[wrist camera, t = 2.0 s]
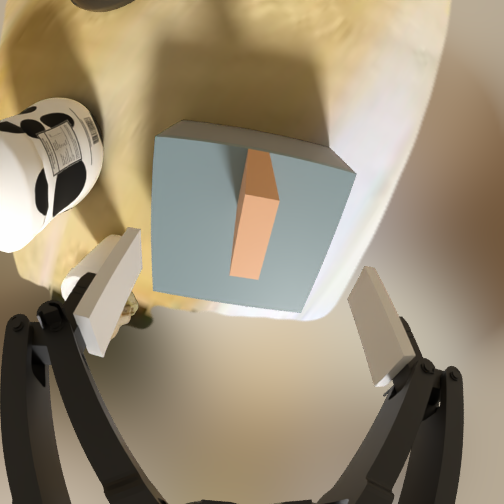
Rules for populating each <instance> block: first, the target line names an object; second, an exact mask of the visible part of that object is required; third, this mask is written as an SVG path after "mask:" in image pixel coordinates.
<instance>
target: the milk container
mask: <svg viewBox="0 0 504 504" xmlns="http://www.w3.org/2000/svg"><path fill="white" fill-rule="evenodd" d="M103 152H104V149H103V141H102V135H101V131H100V128H99V126H98V124H97V122H96V120H95V118H94V116H93V115H92V114H91V113H90V112H89V110H88V109H87V108H86V107H84V106H83V105H82V104H81V103H79V102H77V101H75V100H72V99H68V98H49V99H44V100H41V101H39V102H36V103H34V104H33V105H31V106H30V107H28V108H27V109H25V110H24V111H23V112H21V113H20V114H18V115H15V116H12V117H9V118H5V119H3V120H0V251H4V252H7V253H10V252H14V251H17V250H20V249H21V248H23V247H24V246H25V245H26V244H28V243H29V242H30V241H31V240H32V239H33V238H34V236H35V235H36V234H37V233H39V232H40V231H41V230H42V229H43V228H44V227H45V226H46V225H47V224H48V223H49V222H50V221H51V220H52V219H53V218H54V217H55V216H56V215H58V214H60V213H63V212H65V211H67V210H69V209H71V208H73V207H74V206H76V205H77V204H78V203H79V202H81V201H82V200H83V199H84V198H85V197H86V195H87V194H88V193H89V192H90V190H91V189H92V187H93V186H94V184H95V183H96V181H97V179H98V177H99V174H100V171H101V168H102V162H103Z"/></svg>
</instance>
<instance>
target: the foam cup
mask: <svg viewBox="0 0 504 504" xmlns="http://www.w3.org/2000/svg"><path fill="white" fill-rule="evenodd" d="M121 237H122V236H120V235H114V234H112V235H109V236H107V237H106V238H104V239H103V240H102V241H101V242H100V243H99V244H98V245H97V246H96V247H95V248H94V249H93V250H92V251H91V252H90V253H89V254H88V255H87V256H86V257H85V258H83V259H82V260H81V261H80V262H79V263H78V264H77V265H76V266H75V267H74V268H72V269H71V270H70V272H69V273H68V274H67V276H66V277H65V279H64V281H63V283H62V285H61V291H62V296H63V298H64V299H65V301H66V299H67V298H68V296H69V294H70V293H71V292H72V290H73V288H74V287H75V286H76V283H77V282H78V280H79V279H80V278H81V277H82V276H83V275H85V274H86V273H87V272H91V273H95V274H97V273H98V271H99V269H100V268H101V266H102V265H103V263H104V262H105V260H106V259H107V257H108V256H109V254H110V253H111V251H112V250H113V248H114V247H115V245H116V244H117V242H118V241H119V240H120V238H121Z"/></svg>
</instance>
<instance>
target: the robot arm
mask: <svg viewBox="0 0 504 504" xmlns="http://www.w3.org/2000/svg"><path fill="white" fill-rule="evenodd" d="M133 1H134V0H71V2H72V3H73V4H74V5H76V6H77V7H79V8H81V9H85V10H89V11H93V12H106V11H111V10H114V9H118V8H120V7H123V6H125V5H127V4H129V3H131V2H133ZM141 270H142V252H141V229H137V228H130V227H128V228H127V230H126V231H125V232H124V234H123V235H122V237H121V238H120V240H119V241H118V242H117V244H116V245H115V247H114V248H113V250H112V251H111V253H110V254H109V256H108V257H107V259H106V260H105V262H104V263H103V265H102V266H101V268H100V269H99V271H98V273H97V274H95V273H91V272H87V273H86V274H85V275H83V276H82V277H81V278H80V279H79V280H78V282H77V283H76V286H75V287H74V288H73V290H72V292H71V293H70V294H69V296H68V298H67V299H66V301H65V302H64V304H63V305H62V303H60V302H59V301H55V300H51V301H47V302H45V303H43V304H42V305H41V306H40V307H39V309H38V311H37V318H38V320H39V322H30V321H29V319H28V318H27V316H25V315H23V314H17V315H14V316H13V317H11V318H10V320H9V321H8V323H7V326H6V331H5V339H4V346H3V355H2V366H1V384H0V385H1V386H0V414H1V415H0V416H1V432H2V444H3V452H4V459H5V466H6V471H7V476H8V482H9V486H10V490H11V495H12V499H13V500H12V504H71V501H70V498H69V494H68V491H67V487H66V484H65V480H64V476H63V472H62V468H61V464H60V460H59V455H58V450H57V445H56V439H55V433H54V426H53V419H52V410H51V401H50V386H49V365H52V368H53V372H54V375H55V378H56V382H57V385H58V388H59V391H60V394H61V396H62V400H63V402H64V405H65V408H66V410H67V413H68V416H69V418H70V421H71V423H72V425H73V428H74V430H75V432H76V435H77V437H78V439H79V441H80V443H81V446H82V448H83V450H84V452H85V454H86V456H87V458H88V460H89V462H90V463H91V466H92V467H93V469H94V471H95V472H96V475H97V476H98V478H99V480H100V482H101V483H102V485H103V488H104V493H105V496H106V498H107V499H108V501H109V503H110V504H168V503H167V502H166V501H165V499H164V498H163V497H162V496H161V494H160V493H159V492H158V491H157V489H156V488H155V487H154V485H153V484H152V483H151V482H150V480H149V479H148V478H147V476H146V475H145V473H144V472H143V470H142V469H141V467H140V466H139V464H138V463H137V461H136V459H135V458H134V456H133V455H132V453H131V451H130V450H129V448H128V447H127V445H126V443H125V442H124V440H123V438H122V436H121V434H120V432H119V431H118V429H117V427H116V425H115V423H114V422H113V419H112V417H111V415H110V414H109V412H108V410H107V407H106V406H105V403H104V401H103V399H102V397H101V395H100V393H99V390H98V388H97V386H96V384H95V381H94V379H93V377H92V374H91V372H90V369H89V367H88V364H87V362H86V359H85V356H84V354H83V352H84V349H85V347H87V350H88V352H89V353H90V354H94V355H97V356H100V357H104V354H105V351H106V349H107V346H108V344H109V341H110V339H111V336H112V334H113V332H114V329H115V327H116V324H117V322H118V320H119V317H120V315H121V313H122V311H123V308H124V306H125V304H126V302H127V299H128V297H129V295H130V293H131V291H132V289H133V286H134V284H135V282H136V280H137V278H138V276H139V274H140V272H141ZM348 302H349V305H350V308H351V311H352V314H353V317H354V320H355V323H356V326H357V329H358V333H359V335H360V339H361V342H362V345H363V349H364V352H365V355H366V359H367V362H368V365H369V369H370V372H371V376H372V380H373V383H374V387H378V386H386V385H387V384H388V383H389V382H390V381H391V380H393V383H394V385H393V386H392V387H391V388H390V389H389V390H388V391H387V392H386V393H385V394H384V395H383V396H386V394H388V395H387V397H386V399H385V401H384V403H383V405H382V407H381V409H380V411H379V413H378V415H377V417H376V419H375V421H374V423H373V425H372V427H371V429H370V430H369V432H368V434H367V436H366V437H365V439H364V441H363V442H362V444H361V446H360V447H359V449H358V451H357V453H356V454H355V456H354V457H353V459H352V460H351V462H350V464H349V465H348V467H347V468H346V470H345V471H344V473H343V474H342V475H341V477H340V478H339V480H338V481H337V483H336V484H335V485H334V487H333V488H332V489H331V490H330V491H328V492H327V493H326V494H325V495H323V496H322V498H321V499H320V500H319V501H318V502H317V503H312V500H303V501H292V502H283V503H276V504H392V502H393V499H394V494H393V493H392V488H393V486H394V484H395V482H396V480H397V478H398V476H399V474H400V472H401V470H402V468H403V466H404V464H405V461H406V459H407V457H408V455H409V452H410V450H411V452H410V457H409V462H408V467H407V471H406V476H405V480H404V484H403V488H402V491H401V495H400V498H399V502H398V504H455V499H456V494H457V489H458V482H459V476H460V468H461V459H462V447H463V426H464V425H463V424H464V409H463V408H464V403H463V381H462V375H461V373H460V371H459V370H458V369H457V368H456V367H454V366H450V367H448V368H447V369H446V370H445V371H442V370H438V369H435V366H434V365H433V363H432V362H431V361H430V360H428V359H426V358H423V357H422V354H421V352H420V350H419V347H418V345H417V343H416V340H415V338H414V336H413V334H412V332H411V329H410V327H409V325H408V323H407V322H406V321H405V320H404V318H403V317H399V316H398V314H397V311H396V309H395V307H394V305H393V303H392V301H391V299H390V297H389V295H388V293H387V291H386V289H385V287H384V285H383V283H382V281H381V279H380V277H379V275H378V273H377V271H376V269H375V268H373V267H367V266H364V268H363V270H362V272H361V274H360V276H359V278H358V280H357V282H356V284H355V286H354V288H353V289H352V291H351V293H350V295H349V297H348ZM439 402H440V407H439ZM187 504H236V503H232V502H222V501H211V500H201V501H198V502H191V503H187Z"/></svg>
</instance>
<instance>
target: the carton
mask: <svg viewBox="0 0 504 504" xmlns="http://www.w3.org/2000/svg"><path fill="white" fill-rule="evenodd" d="M160 134H161V135H172V136H181V137H190V138H198V139H205V140H213V141H219V142H226V143H232V144H238V145H244V146H250V147H255V148H260V149H266V150H271V151H275V152H280V153H285V154H289V155H294V156H298V157H303V158H307V159H311V160H315V161H319V162H323V163H327V164H330V165H334V166H338V167H342V168H345V169H349V170H352V169H351V168H350V167H349V166H348V165H347V164H346V163H345V162H344V161H343V160H342V159H341V158H340V157H339V156H338V155H337V154H336V153H335V152H334V151H333V150H332V149H330V148H329V147H325V146H322V145H318V144H314V143H310V142H306V141H302V140H298V139H294V138H289V137H285V136H280V135H276V134H271V133H266V132H261V131H256V130H250V129H245V128H239V127H233V126H226V125H219V124H212V123H205V122H197V121H188V120H181V121H180V122H178V123H176V124H174V125H173V126H171V127H169V128H168V129H166V130H164V131H163V132H161V133H160ZM352 171H353V170H352Z"/></svg>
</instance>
